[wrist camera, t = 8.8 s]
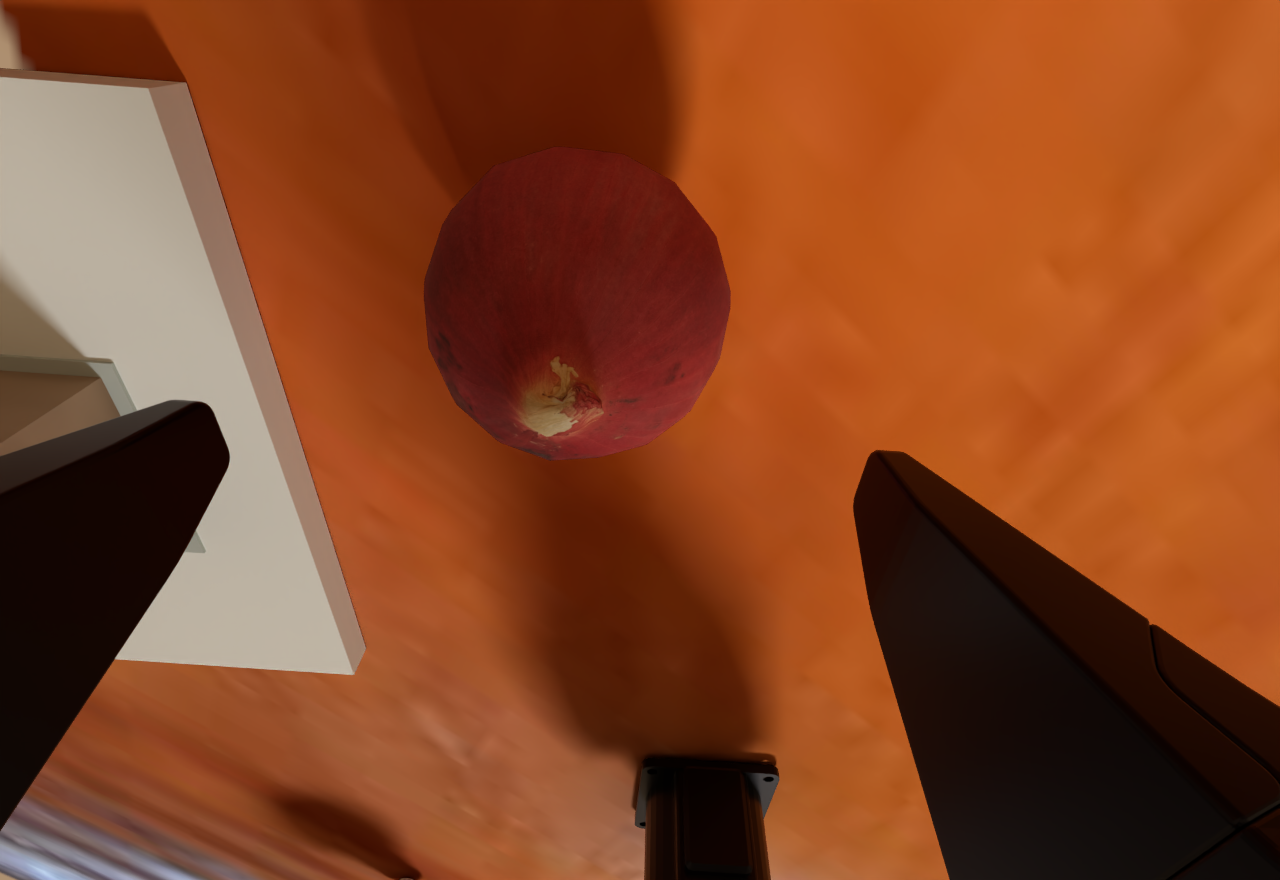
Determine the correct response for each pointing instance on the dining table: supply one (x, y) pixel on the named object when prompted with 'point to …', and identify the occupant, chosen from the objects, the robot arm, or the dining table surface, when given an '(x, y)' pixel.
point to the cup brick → (49, 407)
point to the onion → (575, 303)
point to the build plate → (167, 354)
